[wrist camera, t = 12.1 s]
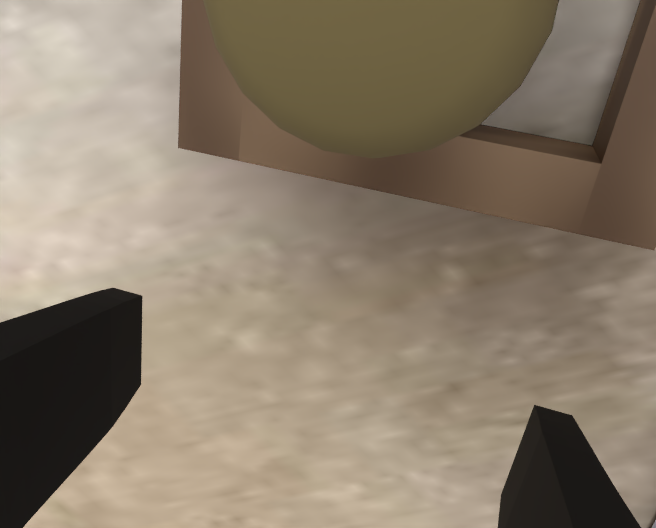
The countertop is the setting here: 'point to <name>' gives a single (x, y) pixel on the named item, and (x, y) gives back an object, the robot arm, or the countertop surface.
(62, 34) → the countertop surface
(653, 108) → the socket block
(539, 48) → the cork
